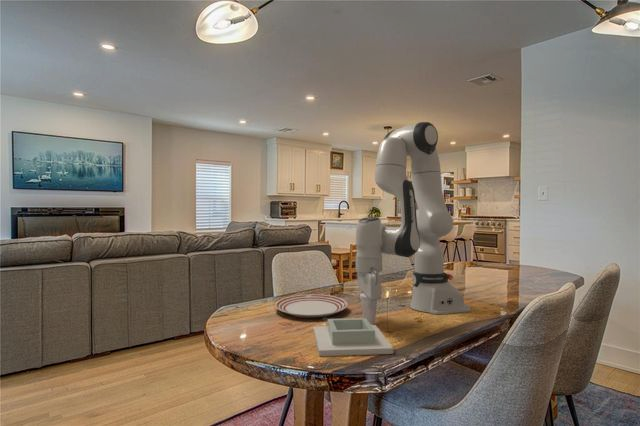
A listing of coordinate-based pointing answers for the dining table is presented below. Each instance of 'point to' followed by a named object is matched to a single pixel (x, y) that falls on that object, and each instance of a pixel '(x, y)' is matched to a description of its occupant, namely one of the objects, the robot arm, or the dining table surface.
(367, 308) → the smoothie
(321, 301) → the dinner plate
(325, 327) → the socket dock
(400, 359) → the dining table surface
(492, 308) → the dining table surface
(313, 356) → the dining table surface
